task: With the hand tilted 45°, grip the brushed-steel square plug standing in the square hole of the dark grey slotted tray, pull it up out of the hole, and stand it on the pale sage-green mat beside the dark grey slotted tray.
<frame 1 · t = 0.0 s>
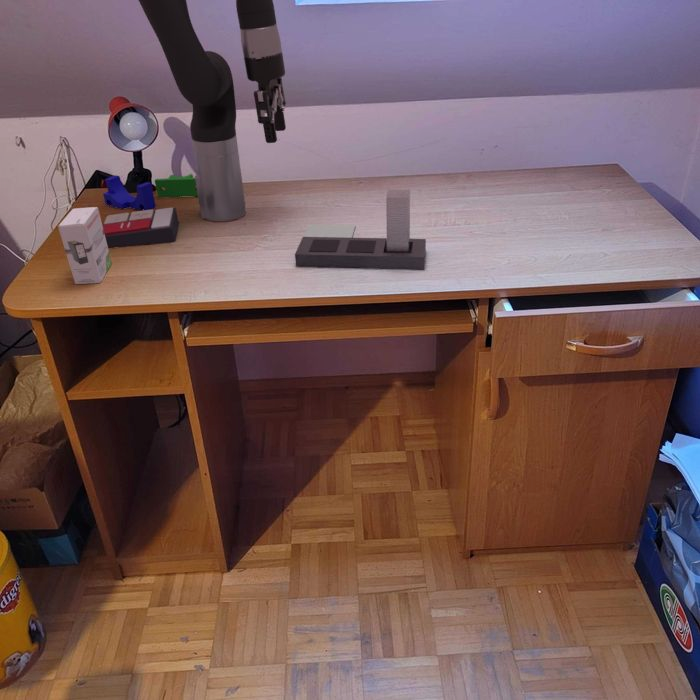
hand: (276, 136, 138), 17 cm above the table, tool pointing down, fingers open, 8 cm apart
red grey box: (141, 237, 142), on the table
mat: (328, 236, 137), on the table
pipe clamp: (183, 196, 161), on the table
cable clip: (131, 207, 156), on the table
dark grey slotted tray: (361, 258, 128), on the table
steel plug: (398, 259, 127), resting in dark grey slotted tray
ink box: (94, 274, 127), on the table
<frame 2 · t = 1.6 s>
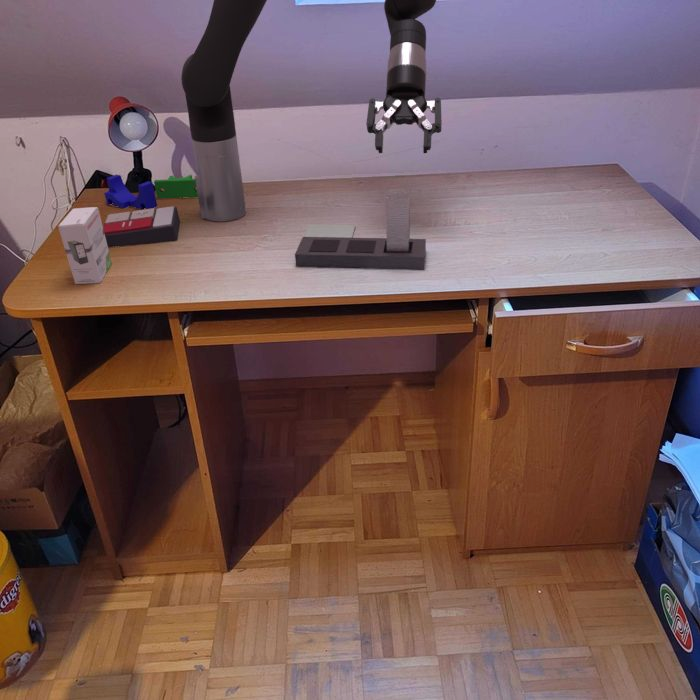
hand: (402, 151, 127), 17 cm above the table, tool tilted 45°, fingers open, 8 cm apart
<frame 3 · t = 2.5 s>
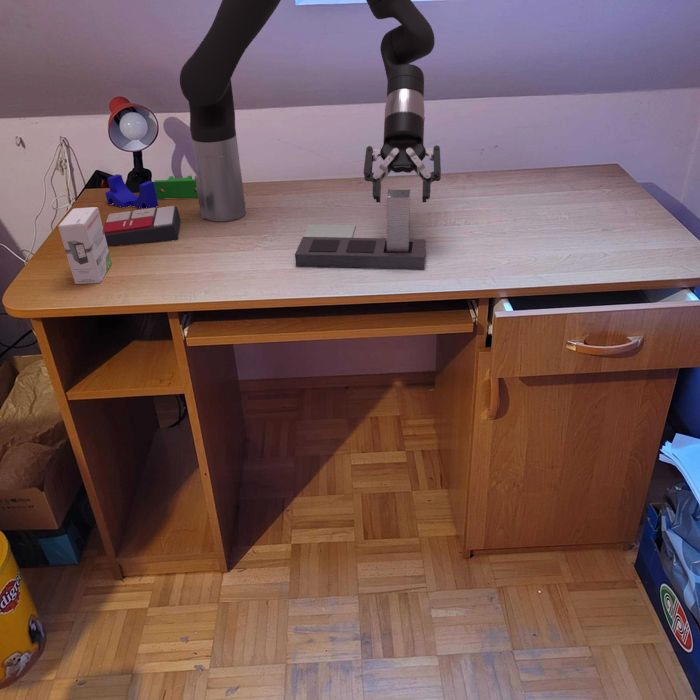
hand: (401, 200, 124), 11 cm above the table, tool tilted 45°, fingers open, 8 cm apart
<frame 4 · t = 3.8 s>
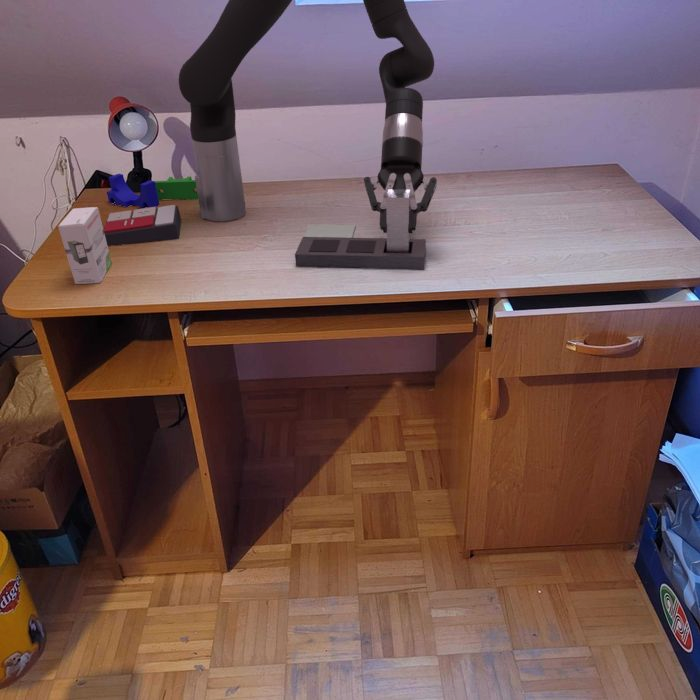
hand: (397, 231, 122), 7 cm above the table, tool tilted 45°, fingers closed on steel plug, 4 cm apart
steel plug: (398, 259, 127), resting in dark grey slotted tray, touching gripper
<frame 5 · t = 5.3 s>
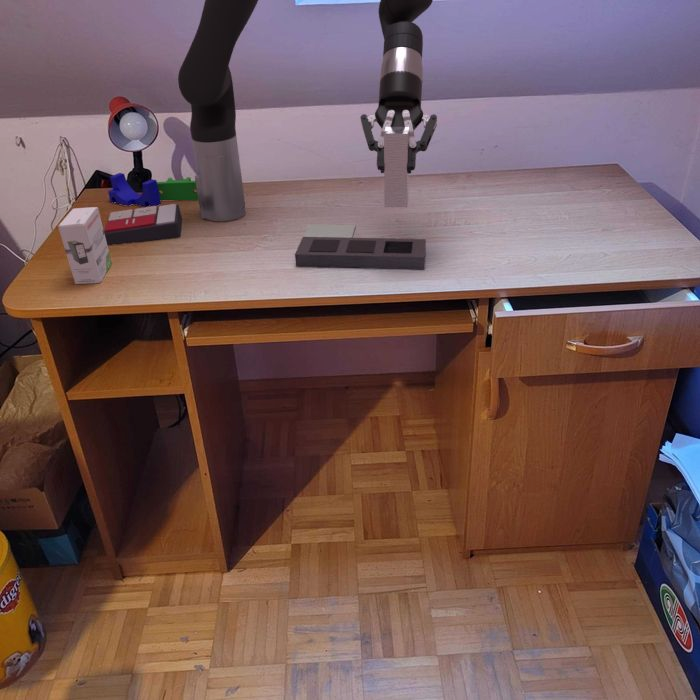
hand: (395, 170, 116), 18 cm above the table, tool tilted 45°, fingers closed on steel plug, 4 cm apart
steel plug: (396, 203, 121), point 11 cm above the table, touching gripper
when the fingers open (8 cm above the table, at t = 7.1 s): steel plug drops 1 cm, resting on mat.
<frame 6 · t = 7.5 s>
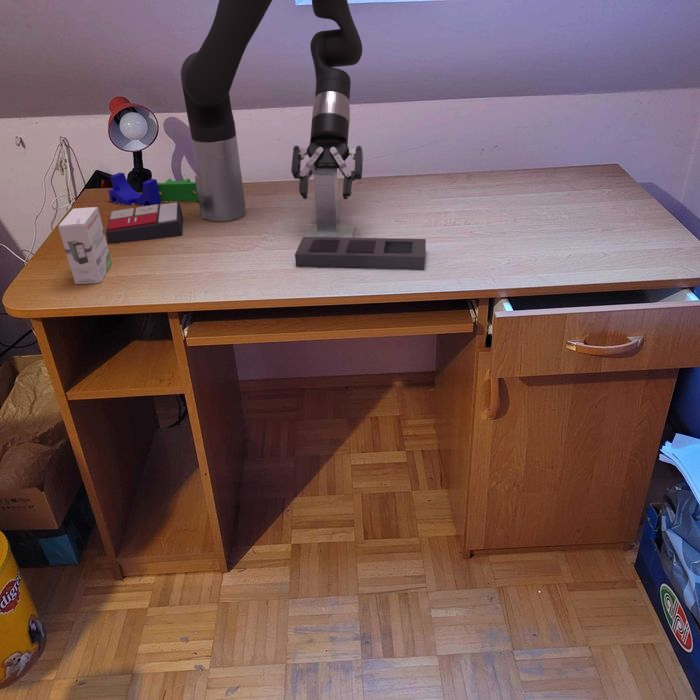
hand: (324, 197, 131), 9 cm above the table, tool tilted 45°, fingers open, 7 cm apart
steel plug: (328, 234, 137), resting on mat
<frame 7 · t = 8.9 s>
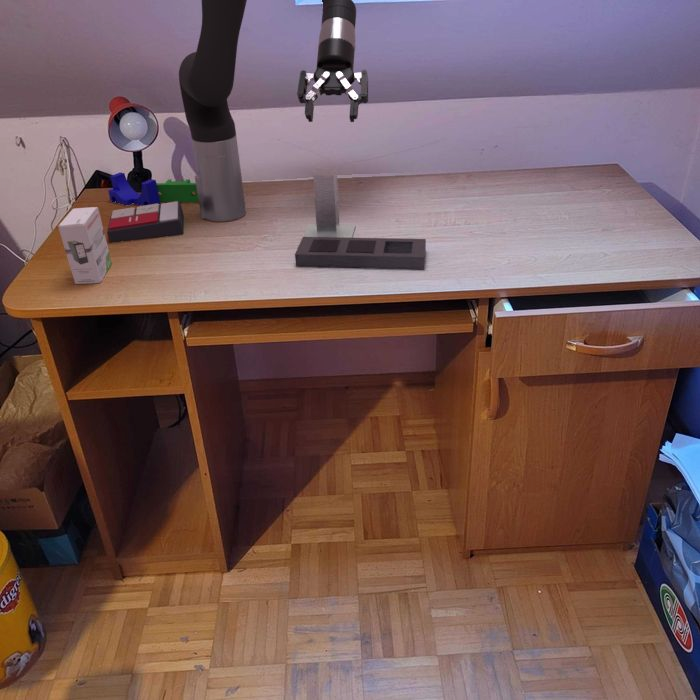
hand: (330, 120, 135), 21 cm above the table, tool tilted 45°, fingers open, 8 cm apart
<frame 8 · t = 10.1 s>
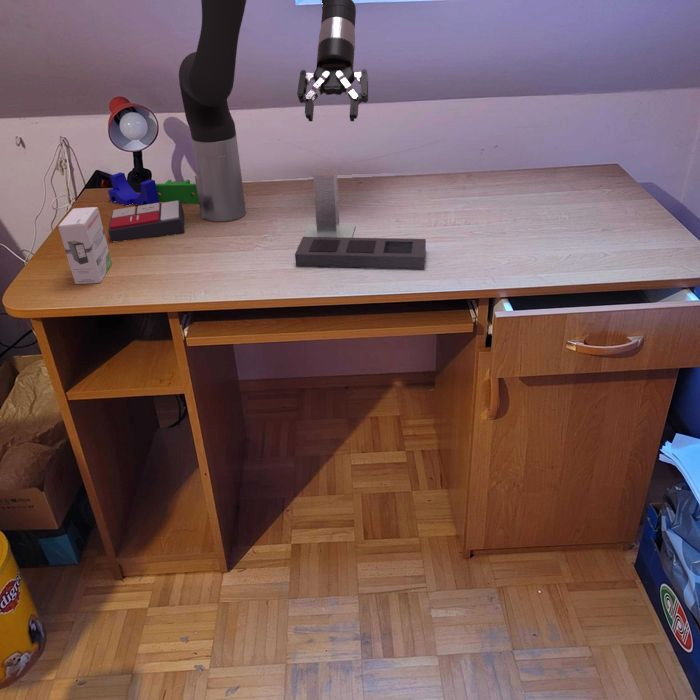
hand: (330, 119, 135), 21 cm above the table, tool tilted 45°, fingers open, 8 cm apart
at the end: steel plug inside the target area on the mat (0.2 cm from its centre), point 0.4 cm above the mat's base; steel plug tilted 0°; the gripper is holding nothing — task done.
